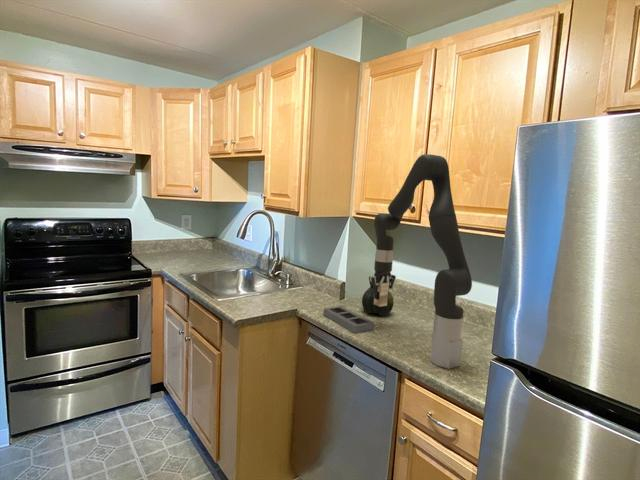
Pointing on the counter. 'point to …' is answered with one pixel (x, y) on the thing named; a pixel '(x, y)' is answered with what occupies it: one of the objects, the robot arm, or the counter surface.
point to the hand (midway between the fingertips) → (380, 298)
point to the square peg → (382, 295)
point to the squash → (372, 308)
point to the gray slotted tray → (348, 319)
